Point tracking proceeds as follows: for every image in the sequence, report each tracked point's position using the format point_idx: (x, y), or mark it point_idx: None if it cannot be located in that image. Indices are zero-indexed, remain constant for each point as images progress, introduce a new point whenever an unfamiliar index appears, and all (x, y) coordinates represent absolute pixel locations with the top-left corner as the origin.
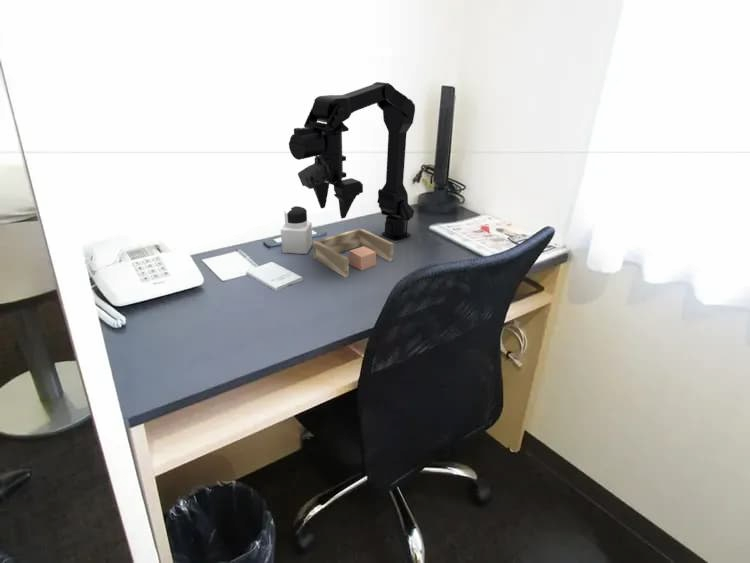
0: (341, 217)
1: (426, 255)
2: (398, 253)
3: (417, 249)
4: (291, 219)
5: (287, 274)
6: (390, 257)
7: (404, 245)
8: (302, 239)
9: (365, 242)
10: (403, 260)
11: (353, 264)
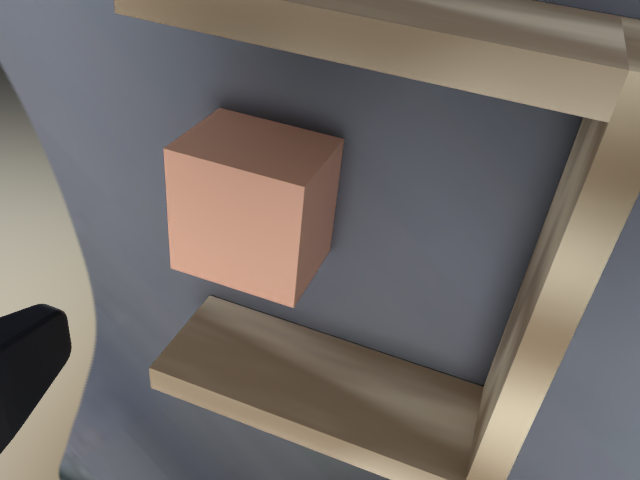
0: (36, 310)
1: (158, 416)
2: None
3: (226, 453)
4: None
5: None
6: (198, 314)
7: (298, 471)
8: None
9: (413, 401)
10: None
11: (293, 132)
